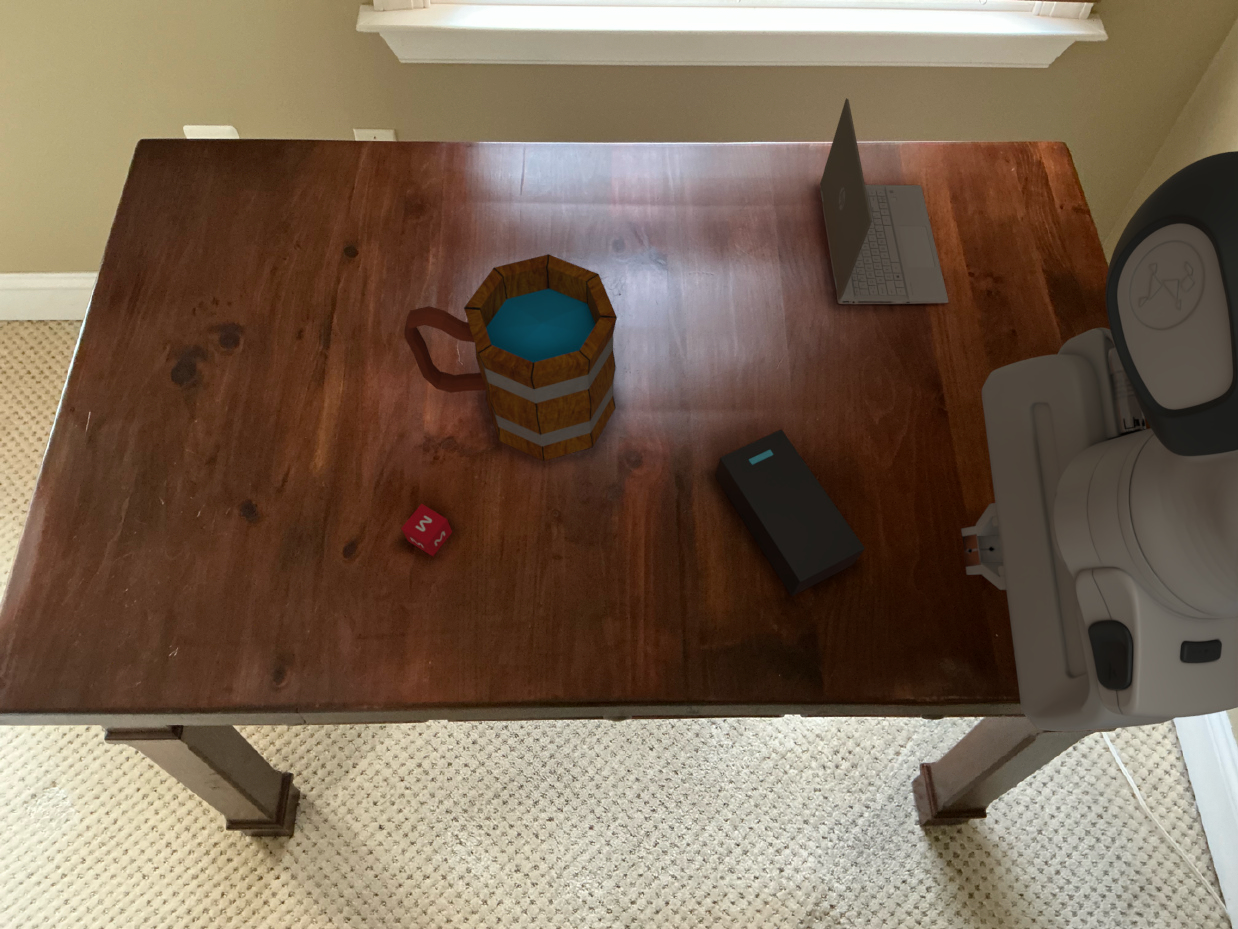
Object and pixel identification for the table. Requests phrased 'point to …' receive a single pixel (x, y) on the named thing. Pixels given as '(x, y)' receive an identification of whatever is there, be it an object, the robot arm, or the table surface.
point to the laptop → (876, 232)
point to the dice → (427, 529)
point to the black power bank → (788, 512)
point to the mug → (533, 353)
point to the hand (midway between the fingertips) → (973, 551)
